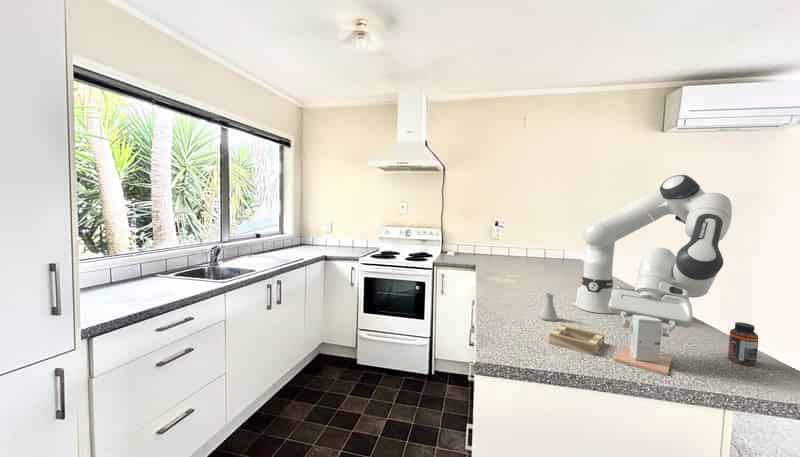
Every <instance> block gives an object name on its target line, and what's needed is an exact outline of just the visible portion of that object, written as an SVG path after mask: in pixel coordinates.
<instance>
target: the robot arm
mask: <svg viewBox="0 0 800 457" xmlns="http://www.w3.org/2000/svg"><path fill="white" fill-rule="evenodd" d="M732 208H733V207H732V201H731V200H730V199H729V197H728V196H727V195H725V194H723V193H720V192H704V190H703V189H702V188H701V187H700V185H699V184H698V182H697V181H696V180H695V179H693V178H692V177H691V176H689V175H687V174H677V175H673V176H671V177H669V178H667V179H666V180H665V181H663V182H662V183H661V185H660V187H659V189H655V190H653V191H651V192H649V193H647V194H644V195H642V196H640V197H638V198H637V199H635V200H633V201H631V202H629V203H627V204H625V205H624V206H622V207H620V208H619V209H617V210H615V211H613V212H611V213H609V214H607V215H605V216H603V217H602V218H600V219H598V220H596V221H594V222H593V223H590V224H589V225H588V226H586V227H585V229H584V231H583V238H584V241H585V243H586V246H585V253H584V259H583V275H582V276H581V285H580V286H579V287H578V288H577V292H576V293H577V294H576V301H574V302H572V306H574V307H577V308H578V309H581V310H583V311H586V312H591V313H597V314H614V315H618V316H619V315H620V319H621V320H622V328H625V329H629V328H630V320H626V319H627V317H631V318H633V315H642V316H651V317H656V318H658V319H660V320H661V321H662V324H666V325H668V326H667V327H662V330H661V337H666V338H669V337H670V333H672V332H673V331H674V330H676V326H677V327H682V328H685V329H689V328H691V327H692V326H693V318H694V317H693V306H692V303H691V302H690V298H700V297H703V296H705V295H707V294H708V292H709V290H710V289H711V286H712V285H713V282H714V281H715V279H716V277H717V275H718V273H719V272H720V270H722V268H723V266H724V258H723V255H722V253H721V251H720V248H719V242H720V241H722V240H723V239H724V238H725V236H726V234H727V232H728V231H729V229H730V226H731V221H732V217H733V216H732V214H733V209H732ZM667 215H674V217H675V218H674V219H675V220H676V221H678V222H680V223H683V224H684V225H685V226H684V229H685V230H684V231H685V234H686V235H687V237H688V238H690V240H689V242H688V243H686V244H685V245H684V246H682V247H681V248H679V250H678V251H677V253H676V255H675V254H674V253H673V252H672V251H671V250H670V249H668V248H666V247H654V248H651V249H649V250H647V251H646V252H645V253H644V254H643V255H642V257H641V260H640V262H639V266H638V271H637V272H638V277H637V278H636V280H635V285H634V288H627V287H626V288H625V287H621V286H618V287H615V288H613V287H614V280H613V267H614V266H613V265H614V264H613V263H614V254H615V244H616V242H617V241H619V240H621V239H623V238H625V237H627V236H628V235H630V234H632V233H634V232H636V231H638V230H640V229H642V228H644V227H646V226H648V225H650V224H652V223H654V222H655V221H657V220H660V219H661V218H663V217H664V216H667Z"/></svg>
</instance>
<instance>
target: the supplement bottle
mask: <svg viewBox="0 0 800 457" xmlns="http://www.w3.org/2000/svg"><path fill="white" fill-rule="evenodd" d="M734 324H735V325H734V328H731V329H730V331H729V339H728V341H729V342H728V351H727V358H728V359H729V360H730V361H731V362H733V363H736V364H739V365H743V366H750V367H751V366H752V367H753V366H755V365H757V361H758V360H757V359H758V352H759V351H758V348H759V339H760V338H759V334H757V333H756V332H755V325H754V324H751V323H747V322H741V321H738V322H737V321H735V323H734Z"/></svg>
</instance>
